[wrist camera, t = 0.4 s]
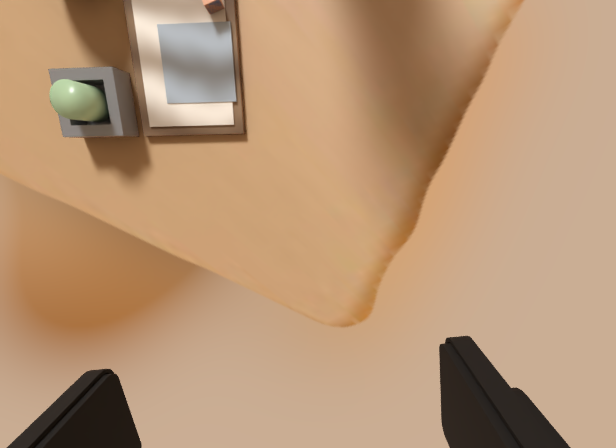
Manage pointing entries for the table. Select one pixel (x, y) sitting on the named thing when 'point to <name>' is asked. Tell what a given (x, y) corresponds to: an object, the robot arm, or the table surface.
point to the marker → (213, 5)
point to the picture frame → (186, 67)
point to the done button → (79, 101)
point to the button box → (117, 99)
